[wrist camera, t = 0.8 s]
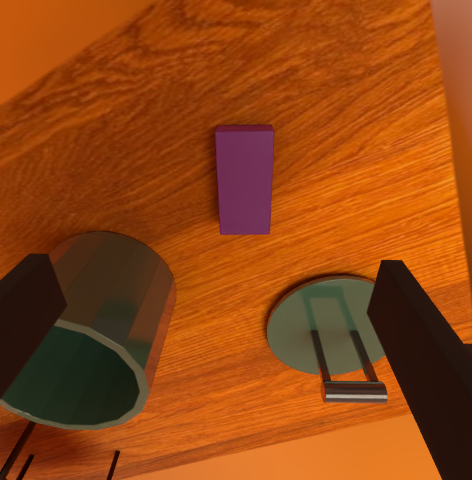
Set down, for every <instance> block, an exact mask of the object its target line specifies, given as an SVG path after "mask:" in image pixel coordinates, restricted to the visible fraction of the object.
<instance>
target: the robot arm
mask: <svg viewBox="0 0 472 480" xmlns="http://www.w3.org/2000/svg"><path fill="white" fill-rule="evenodd" d="M67 306H68V305H67V303H66V300H65V297H64V295H63V292H62V289H61V287H60V284H59V281H58V279H57V276H56V273H55V271H54V268H53V265H52V263H51V260H50V257H49V255H48V254H29V255H28V256H27V257H25V258H24V259H23V260H22V261H21V262H20V263H19V264H18V265H17V266H16V267H14V268H13V269H12V270H11V271H10V272H9V273H8V274H7V275H6V276H5V277H4V278H2V279H1V280H0V400H1V398H2V397H3V395H4V394H5V393H6V391H7V390H8V388H9V387H10V386H11V384H12V383H13V381H14V380H15V379H16V377H17V376H18V374H19V373H20V372H21V370H22V369H23V367H24V366H25V365H26V363H27V362H28V360H29V359H30V358H31V356H32V355H33V353H34V352H35V351H36V349H37V348H38V347H39V345H40V344H41V342H42V341H43V340H44V338H45V337H46V335H47V334H48V333H49V331H50V330H51V328H52V327H53V326H54V324H55V323H56V321H57V320H58V319H59V317H60V316H61V314H62V313H63V312H64V310H65V309H66V307H67ZM366 313H367V315H368V317H369V319H370V322H371V324H372V326H373V328H374V330H375V333H376V335H377V337H378V339H379V341H380V344H381V346H382V348H383V350H384V352H385V355H386V357H387V359H388V361H389V363H390V366H391V368H392V370H393V372H394V374H395V377H396V379H397V381H398V383H399V385H400V388H401V390H402V392H403V394H404V397H405V399H406V401H407V403H408V405H409V408H410V410H411V412H412V414H413V416H414V419H415V421H416V423H417V425H418V427H419V429H420V432H421V434H422V436H423V438H424V440H425V443H426V445H427V447H428V449H429V451H430V454H431V456H432V458H433V460H434V463H435V465H436V467H437V469H438V471H439V474H440V476H441V478H442V480H472V344H463V342H462V341H461V340H460V338H459V337H458V336H457V334H456V333H455V332H454V330H453V329H452V327H451V326H450V325H449V323H448V322H447V321H446V319H445V318H444V317H443V315H442V314H441V313H440V311H439V310H438V309H437V307H436V306H435V305H434V303H433V302H432V300H431V299H430V298H429V296H428V295H427V294H426V292H425V291H424V290H423V288H422V287H421V286H420V284H419V283H418V282H417V280H416V279H415V277H414V276H413V275H412V273H411V272H410V271H409V269H408V268H407V267H406V265H405V264H404V263H403V261H402V260H381V264H380V267H379V271H378V274H377V278H376V281H375V285H374V288H373V292H372V295H371V298H370V302H369V305H368V309H367V312H366Z"/></svg>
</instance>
